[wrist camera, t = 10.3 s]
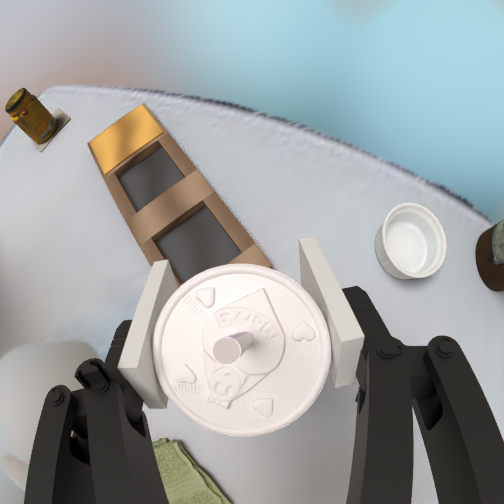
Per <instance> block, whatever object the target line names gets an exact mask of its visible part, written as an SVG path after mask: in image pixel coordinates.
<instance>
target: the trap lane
mask: <svg viewBox="0 0 504 504" xmlns="http://www.w3.org/2000/svg"><path fill="white" fill-rule="evenodd" d="M88 147H89V149H90V151H91V153H92V155H93V158H94V160H95V162H96V164H97V166H98V168H99V170H100V172H101V174H102V177H103V179H104V181H105V183H106V185H107V187H108V189H109V191H110V193H111V195H112V197H113V199H114V201H115V202H116V204H117V206H118V208H119V210H120V212H121V214H122V216H123V218H124V219H125V221H126V223H127V225H128V227H129V229H130V230H131V232H132V234H133V236H134V238H135V239H136V241H137V243H138V245H139V246H140V248H141V250H142V252H143V253H144V255H145V257H146V258H147V260H148V262H149V263H150V265H151V267H152V266H153V264H154V262H156V261H162V260H169V263H170V266H171V269H172V272H173V275H174V278H175V281H176V284H177V287H178V288H179V287H180V286H181V285H183V284H184V283H185V282H186V281H188V280H189V279H191V278H192V277H194V276H195V275H197V274H199V273H201V272H203V271H206V270H208V269H211V268H214V267H218V266H222V265H228V264H253V265H259V266H263V267H267V268H270V269H272V264H271V263H270V261H269V260H268V259H267V257H266V256H265V255H264V254H263V252H262V251H261V250H260V248H259V247H258V246H257V245H256V243H255V242H254V241H253V240H252V238H251V237H250V236H249V234H248V233H247V232H246V231H245V229H244V228H243V227H242V225H241V224H240V223H239V222H238V220H237V219H236V218H235V216H234V215H233V214H232V213H231V211H230V210H229V209H228V208H227V206H226V205H225V204H224V202H223V201H222V200H221V199H220V197H219V196H218V195H217V194H216V192H215V191H214V190H213V189H212V187H211V186H210V185H209V183H208V182H207V181H206V180H205V178H204V177H203V176H202V175H201V173H200V172H199V171H198V170H197V168H196V167H195V166H194V164H193V163H192V162H191V161H190V159H189V158H188V157H187V156H186V154H185V153H184V152H183V151H182V149H181V148H180V147H179V146H178V144H177V143H176V142H175V141H174V139H173V138H172V137H171V136H170V134H169V133H168V132H167V131H166V129H165V128H164V127H163V125H162V124H161V123H160V122H159V120H158V119H157V118H156V117H155V115H154V114H153V113H152V112H151V111H150V109H149V108H148V107H147V106H146V104H145V103H143V104H141V105H140V106H138V107H137V108H135V109H134V110H132V111H131V112H129V113H128V114H126V115H125V116H123V117H122V118H121V119H119V120H118V121H116V122H115V123H114V124H112V125H111V126H110V127H108V128H107V129H106V130H104V131H103V132H102V133H100V134H99V135H98V136H96V137H95V138H94V139H93V140H91V141H90V142H89V143H88Z"/></svg>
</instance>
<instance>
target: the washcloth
mask: <svg viewBox="0 0 504 504" xmlns="http://www.w3.org/2000/svg"><path fill="white" fill-rule="evenodd" d="M152 445H153V449H154V453H155V457H156V461H157V464H158V468H159V472H160V475H161V479H162V482H163V485H164V489H165V492H166V495H167V498H168V501H169V504H233V503H231V502H230V501H229V500H227V498H225V497H224V496H223V494H222V493H221V492H220V490H219V489H218V488H217V486H216V485H215V484H214V483H213V481H212V480H211V479H210V478H209V476H207V475H206V474H205V473H204V472H203V471H202V470H201V469H200V468H199V466H198V465H197V464H196V463H195V462H194V460H193V459H192V458H191V457H190V456H189V455H188V454H187V453H186V451H185V450H184V449H183V447H182V446H181V444H180V442H178V441H175V442H173V441H172V440H171V441H170V442H169V440H168V439H167V438H163V439H160V440H157V441H155V442H153V443H152Z"/></svg>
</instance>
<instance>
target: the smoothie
mask: <svg viewBox="0 0 504 504" xmlns="http://www.w3.org/2000/svg"><path fill="white" fill-rule="evenodd" d="M153 361H154V367H155V371H156V374H157V377H158V380H159V382H160V385H161V387H162V389H163V391H164V392H165V394H166V395H167V397H168V399H169V400H170V401H171V402H172V404H173V405H174V406H175V407H176V408H177V409H178V410H179V411H180V412H181V413H182V414H183V415H184V416H185V417H187V418H188V419H189V420H191V421H192V422H194V423H195V424H197V425H199V426H201V427H203V428H205V429H207V430H210V431H212V432H215V433H219V434H223V435H228V436H236V437H251V436H258V435H263V434H267V433H271V432H274V431H276V430H279V429H281V428H283V427H285V426H287V425H289V424H290V423H292V422H293V421H295V420H296V419H298V418H299V417H300V416H301V415H302V414H304V413H305V412H306V411H307V410H308V409H309V407H310V406H311V405H312V404H313V403H314V401H315V400H316V399H317V397H318V395H319V394H320V392H321V390H322V388H323V386H324V384H325V381H326V378H327V376H328V372H329V367H330V361H331V342H330V336H329V331H328V328H327V324H326V321H325V319H324V317H323V314H322V313H321V311H320V309H319V307H318V306H317V304H316V303H315V301H314V300H313V298H312V297H311V296H310V295H309V294H308V293H307V292H306V291H305V290H304V289H303V288H302V287H301V286H300V285H299V284H298V283H296V282H295V281H294V280H292V279H291V278H289V277H288V276H286V275H284V274H282V273H280V272H278V271H275V270H273V269H270V268H267V267H263V266H259V265H253V264H228V265H222V266H218V267H214V268H211V269H208V270H206V271H203V272H201V273H199V274H197V275H195V276H194V277H192V278H191V279H189V280H188V281H186V282H185V283H184V284H183V285H181V286H180V287H179V288H178V289H177V290H176V291H175V292H174V294H173V295H172V296H171V297H170V298H169V300H168V301H167V303H166V304H165V306H164V308H163V309H162V311H161V313H160V316H159V318H158V321H157V324H156V327H155V331H154V337H153Z"/></svg>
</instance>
